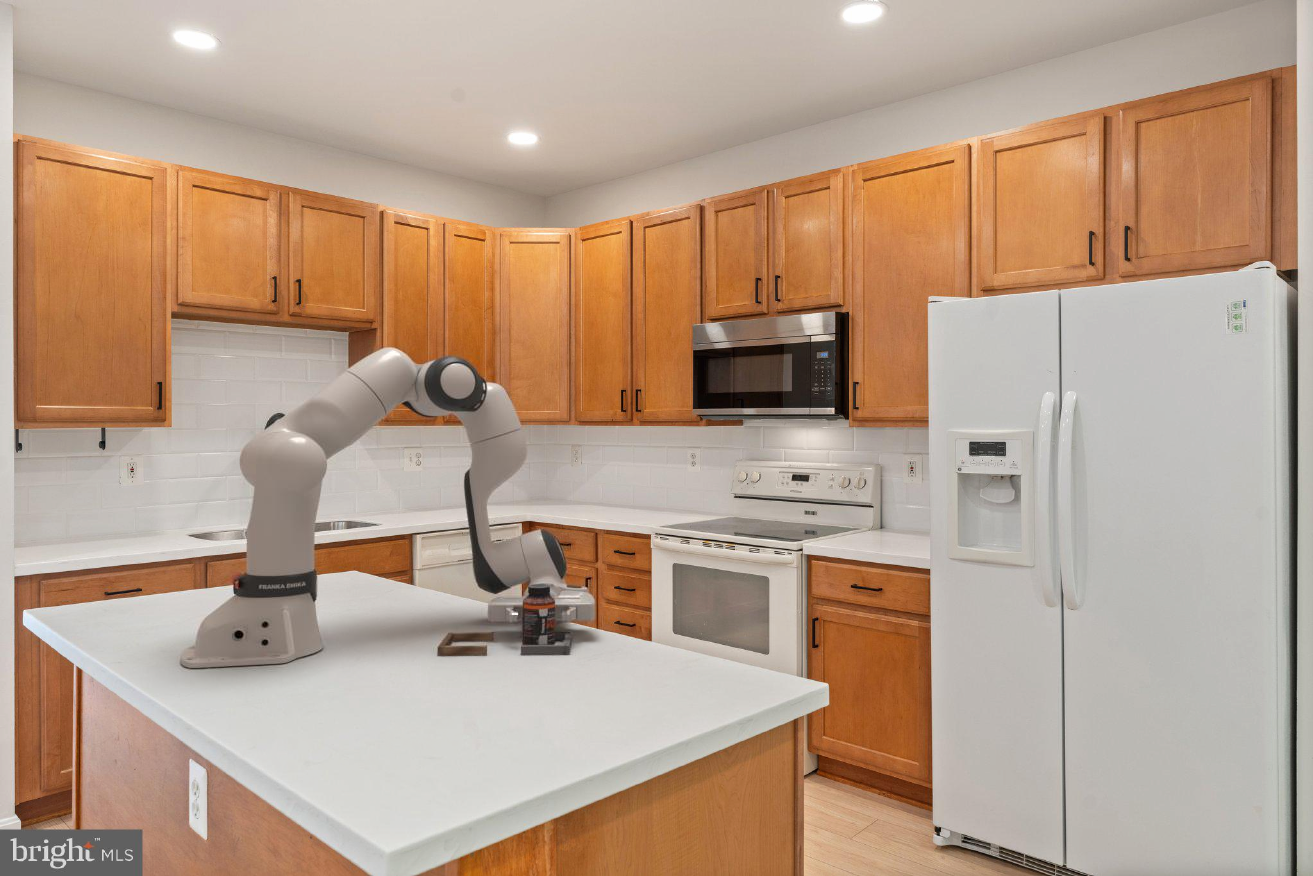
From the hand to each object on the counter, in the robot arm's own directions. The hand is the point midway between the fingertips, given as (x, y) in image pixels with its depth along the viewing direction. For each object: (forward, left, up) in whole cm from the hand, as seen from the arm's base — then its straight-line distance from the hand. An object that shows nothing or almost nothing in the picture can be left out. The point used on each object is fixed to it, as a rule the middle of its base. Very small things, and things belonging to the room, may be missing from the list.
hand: (539, 618), depth 154 cm
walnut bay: (-12, +6, -6) cm, 14 cm away
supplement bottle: (0, +1, -6) cm, 6 cm away
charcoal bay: (+1, 0, -5) cm, 6 cm away
